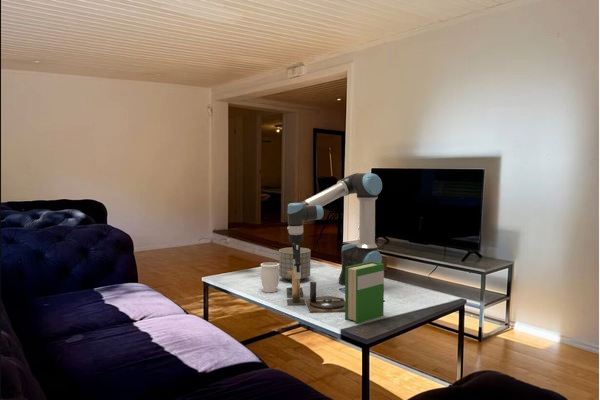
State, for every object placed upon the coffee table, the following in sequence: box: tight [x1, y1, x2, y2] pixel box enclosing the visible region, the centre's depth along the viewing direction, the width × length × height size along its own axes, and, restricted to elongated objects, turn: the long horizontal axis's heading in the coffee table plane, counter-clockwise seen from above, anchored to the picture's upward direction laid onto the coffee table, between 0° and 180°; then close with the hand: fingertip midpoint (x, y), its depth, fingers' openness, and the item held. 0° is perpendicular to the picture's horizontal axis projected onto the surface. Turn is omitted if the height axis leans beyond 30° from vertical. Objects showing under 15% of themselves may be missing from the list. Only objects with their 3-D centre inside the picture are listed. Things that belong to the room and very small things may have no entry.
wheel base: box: [306, 297, 345, 314], centre depth 219 cm, size 19×19×1 cm
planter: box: [278, 247, 311, 282], centre depth 270 cm, size 19×19×18 cm
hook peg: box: [288, 270, 301, 303], centre depth 224 cm, size 6×4×16 cm, turn 94°
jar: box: [260, 261, 280, 293], centre depth 246 cm, size 11×10×15 cm
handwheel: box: [309, 281, 345, 309], centre depth 219 cm, size 17×17×11 cm
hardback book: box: [344, 261, 385, 325], centre depth 202 cm, size 18×7×24 cm, turn 130°
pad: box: [286, 298, 307, 306], centre depth 225 cm, size 9×9×1 cm
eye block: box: [285, 286, 304, 299], centre depth 238 cm, size 8×8×3 cm
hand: (297, 274), depth 227 cm, fingers open, 13 cm apart
